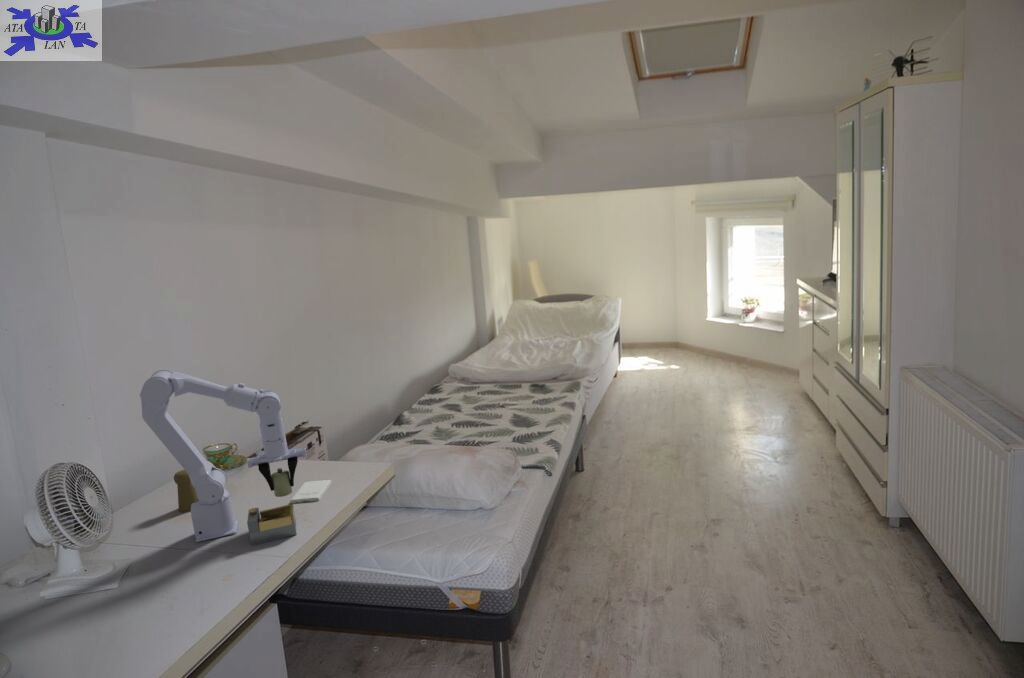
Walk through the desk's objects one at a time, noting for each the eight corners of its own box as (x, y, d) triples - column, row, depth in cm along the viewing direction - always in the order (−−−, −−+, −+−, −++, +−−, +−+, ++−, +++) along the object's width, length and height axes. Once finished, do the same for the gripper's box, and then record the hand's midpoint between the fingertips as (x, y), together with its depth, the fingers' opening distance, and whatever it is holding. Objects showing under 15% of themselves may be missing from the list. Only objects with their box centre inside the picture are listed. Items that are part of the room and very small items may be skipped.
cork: (206, 502, 189) (199, 466, 187) (194, 511, 183) (186, 474, 181) (186, 503, 189) (179, 467, 187) (174, 512, 183) (166, 476, 181)
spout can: (274, 498, 170) (270, 475, 168) (274, 492, 174) (270, 469, 172) (292, 494, 171) (288, 471, 170) (292, 488, 175) (288, 465, 174)
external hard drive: (332, 484, 194) (319, 502, 182) (304, 487, 194) (290, 505, 182) (331, 479, 194) (318, 497, 181) (304, 481, 194) (289, 499, 182)
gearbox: (251, 545, 159) (246, 519, 157) (253, 531, 166) (248, 506, 165) (296, 534, 162) (291, 509, 161) (295, 521, 169) (291, 497, 168)
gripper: (243, 448, 164) (252, 499, 166) (303, 437, 168) (311, 486, 170) (244, 440, 170) (253, 489, 173) (302, 429, 175) (310, 477, 177)
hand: (282, 487), depth 172 cm, fingers closed on spout can, 4 cm apart
